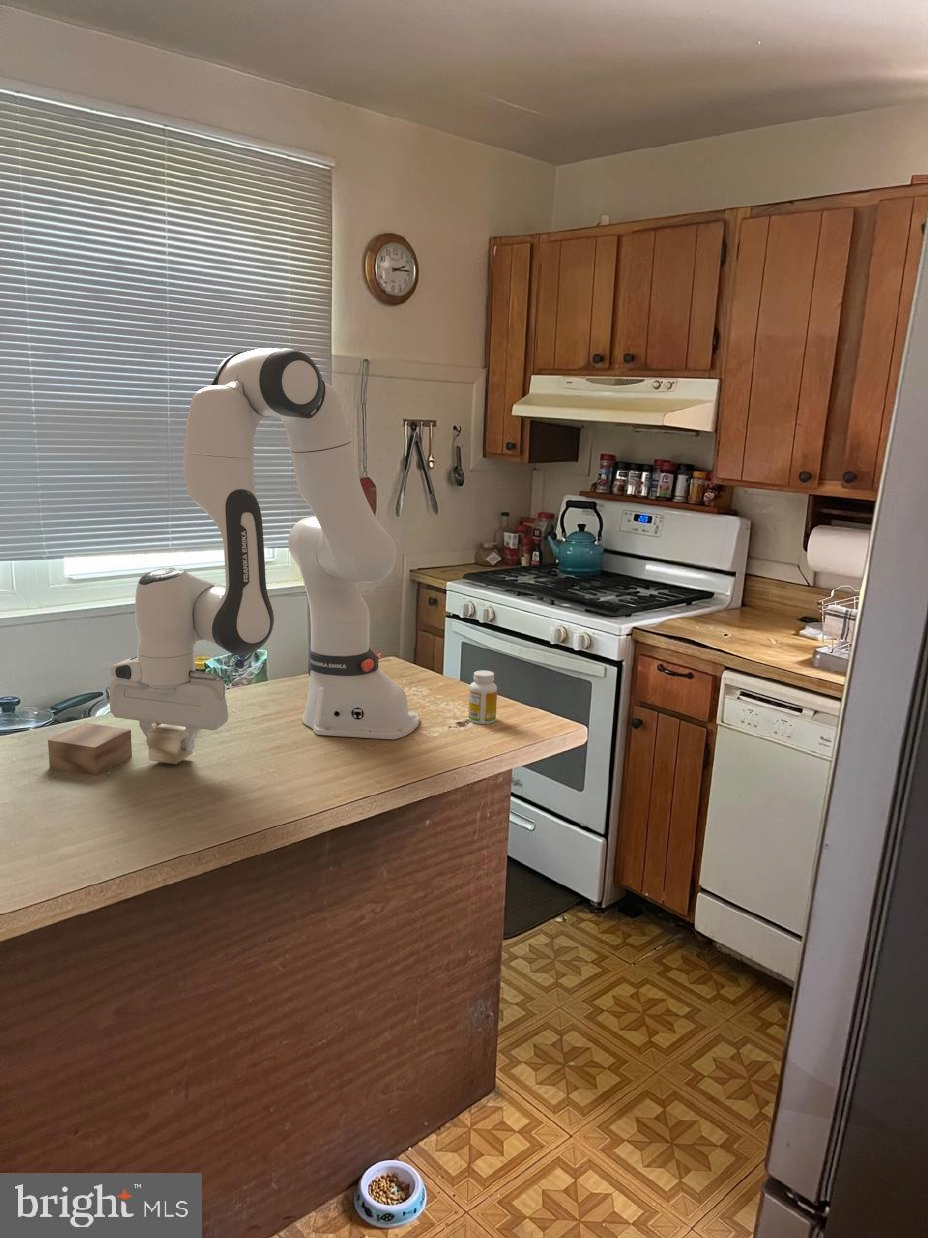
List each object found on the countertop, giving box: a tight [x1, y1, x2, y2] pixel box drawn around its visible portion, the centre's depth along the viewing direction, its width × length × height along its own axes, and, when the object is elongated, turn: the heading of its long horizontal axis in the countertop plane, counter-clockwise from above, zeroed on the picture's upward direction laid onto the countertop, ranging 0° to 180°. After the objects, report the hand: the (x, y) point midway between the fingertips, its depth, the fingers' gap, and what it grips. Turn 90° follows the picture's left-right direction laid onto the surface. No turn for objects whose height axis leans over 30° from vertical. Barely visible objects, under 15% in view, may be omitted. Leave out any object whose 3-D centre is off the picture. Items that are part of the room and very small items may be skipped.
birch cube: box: [148, 723, 194, 765], centre depth 149 cm, size 5×5×5 cm
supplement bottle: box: [468, 670, 498, 725], centre depth 175 cm, size 5×5×10 cm
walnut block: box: [47, 722, 133, 777], centre depth 148 cm, size 9×9×5 cm
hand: (170, 747), depth 149 cm, fingers closed on birch cube, 5 cm apart
